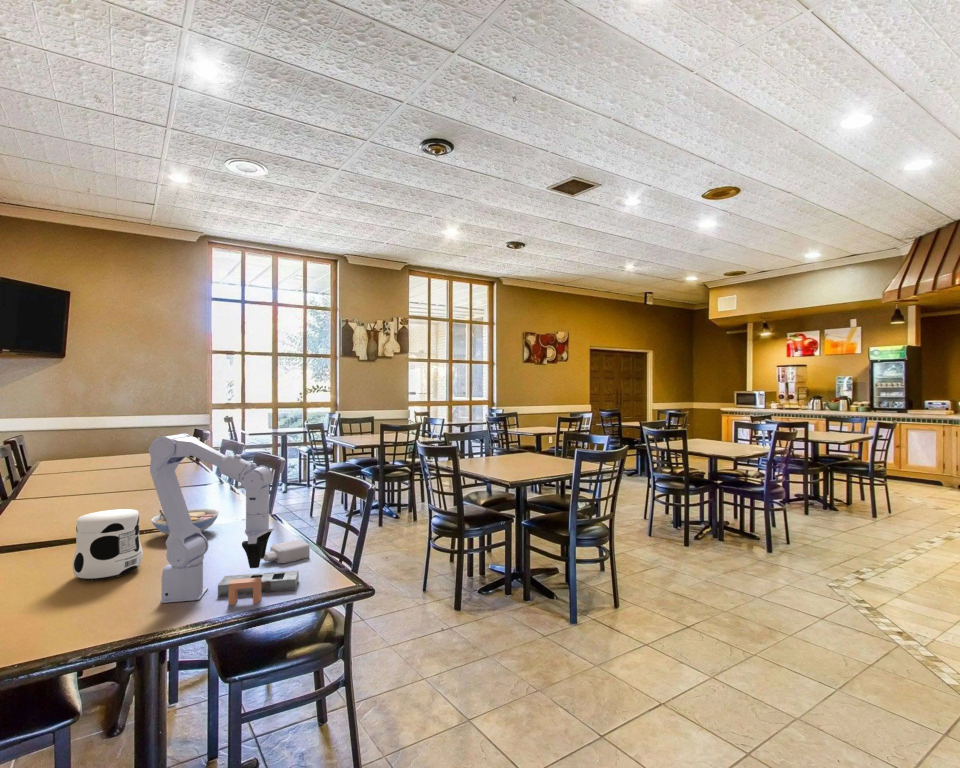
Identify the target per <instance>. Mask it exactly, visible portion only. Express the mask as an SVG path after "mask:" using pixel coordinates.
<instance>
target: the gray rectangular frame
mask: <svg viewBox="0 0 960 768" xmlns="http://www.w3.org/2000/svg"><path fill="white" fill-rule="evenodd" d="M299 571H300V570H290V571H289V570H287V571H275V572H273V571H272V572H264V573H263V572H261V573H259V572H258V573H246V574H236V575H235V574H234V575H224V576H223V578H222V579H221V580H220V582H219V583H218V584H217V597H229V583H230V581H231V580H234V579H247V578H260V577H261V594H262V593H263V594H264V593H275V592H274V591H277V592H285V591H284V590H290V591H296V590H295V589H297V587H298V584H297V583H299V581H298V580H300V579H299V577H300V575H299V573H300V572H299ZM296 586H297V587H296ZM251 594H252V595H253V588H243V589H238V596H239V595H240V596H241V595H251Z"/></svg>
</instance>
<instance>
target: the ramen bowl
mask: <svg viewBox="0 0 960 768" xmlns="http://www.w3.org/2000/svg"><path fill="white" fill-rule="evenodd" d="M188 512H189V515H190V518H191V521H192V524H193V525H194V526H196V527H198V528H200V530H201V533H202V532H203V531H205V530H208V529H209V528H210V527H212V525H213V524H214V523H215V521H216V520H217V518H218V516H219V514H220V511H218V510H216V509H212V508H192V509H189V508H188ZM159 513H160V514H159V515H155V516H154V517H152V518H151V520H150V521H151V523H152V525H153V526H154V527H155V529H157V530H158V531H159V532H160V533H162V534H164V535H168V536H169V534H170V530H169V527H168V524H167V521H166V518H165V515H164V512H163V509H159Z"/></svg>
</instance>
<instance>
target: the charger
mask: <svg viewBox="0 0 960 768" xmlns="http://www.w3.org/2000/svg"><path fill="white" fill-rule="evenodd" d="M310 549H311V547H310V544H309V543H307V542H306V541H303V540H301V539H299V538H298V539H294V540H290V541H284V542H280V543H276V544H271V546H270V551H266V552H265V556H264V558H261V559H260V561H261V560H263V561H265V562H267V563H268V562H271V561H275V562H276V563H278V564H280V563H285V564H288V563H287V562H289V563H292V562H291V561H293V562H296V561H295V560H297V561H301V560H305V559H308V558H310ZM304 558H305V559H304ZM300 559H301V560H300Z"/></svg>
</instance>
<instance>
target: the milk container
mask: <svg viewBox="0 0 960 768" xmlns="http://www.w3.org/2000/svg"><path fill="white" fill-rule="evenodd" d="M75 531H76V532H75V533H76V534H75V539H76V540H75V541H76V544H75V545H76V546H75V547H76V548H75V552H74V555H73V558H72V562H71V563H72V571H73V575H74V577H76V578H77V579H79V580H83V581H102V580H109V579H115V578H118V577H122V576H125V575H127V574H129V573H132V572H134V571H135V570H137V569H138V568H139V567H140V566H141V564H142V561H143V557H144V555H143V554H144V553H143V547H142V544H141V540H140V515H139V510H137V509H130V508H126V509H125V508H120V509H108V510H100V511H95V512H90V513H87V514H83V515H81V516H79V517H78V518H77V520H76V527H75Z"/></svg>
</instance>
